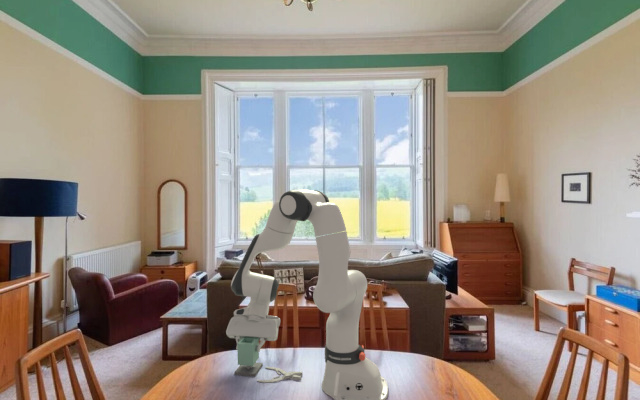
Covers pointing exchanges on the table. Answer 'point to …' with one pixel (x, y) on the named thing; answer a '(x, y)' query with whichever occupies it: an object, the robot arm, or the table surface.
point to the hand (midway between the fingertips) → (247, 350)
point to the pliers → (289, 375)
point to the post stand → (248, 370)
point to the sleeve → (248, 351)
